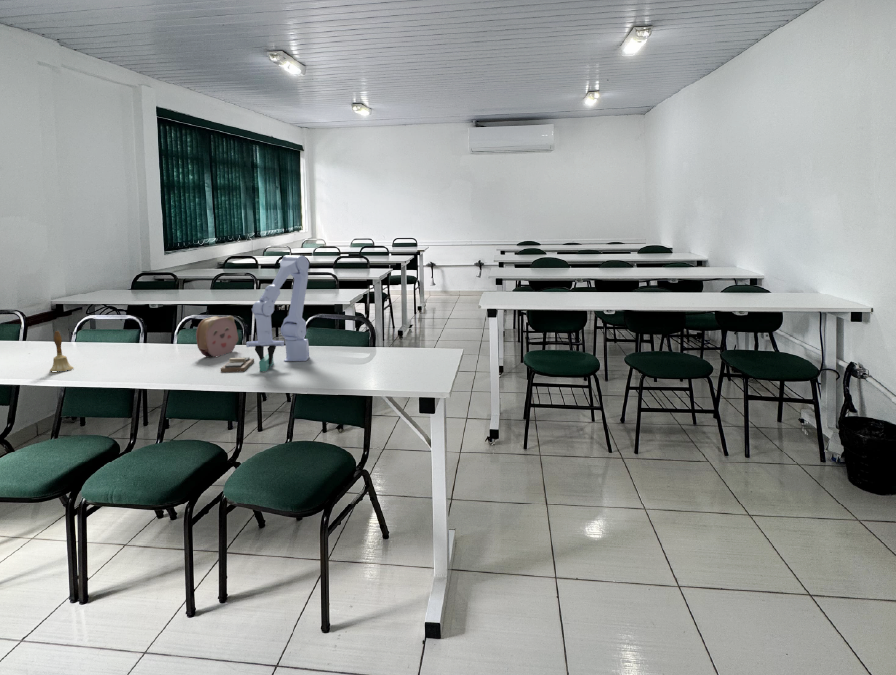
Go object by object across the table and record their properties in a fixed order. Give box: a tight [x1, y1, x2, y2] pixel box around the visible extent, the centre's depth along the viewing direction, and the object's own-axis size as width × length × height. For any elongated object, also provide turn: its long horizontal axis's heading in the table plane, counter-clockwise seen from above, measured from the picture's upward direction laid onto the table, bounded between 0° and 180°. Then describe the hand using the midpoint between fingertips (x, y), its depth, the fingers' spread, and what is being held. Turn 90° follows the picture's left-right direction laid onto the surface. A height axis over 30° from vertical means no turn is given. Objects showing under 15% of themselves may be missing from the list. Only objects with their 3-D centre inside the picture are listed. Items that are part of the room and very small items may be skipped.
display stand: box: [220, 356, 255, 373], centre depth 242 cm, size 16×9×4 cm, turn 4°
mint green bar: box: [258, 353, 275, 372], centre depth 240 cm, size 14×2×4 cm, turn 4°
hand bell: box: [49, 330, 74, 372], centre depth 238 cm, size 8×8×16 cm
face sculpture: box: [195, 315, 239, 358], centre depth 264 cm, size 20×7×17 cm, turn 161°
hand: (266, 363), depth 241 cm, fingers closed on mint green bar, 2 cm apart
